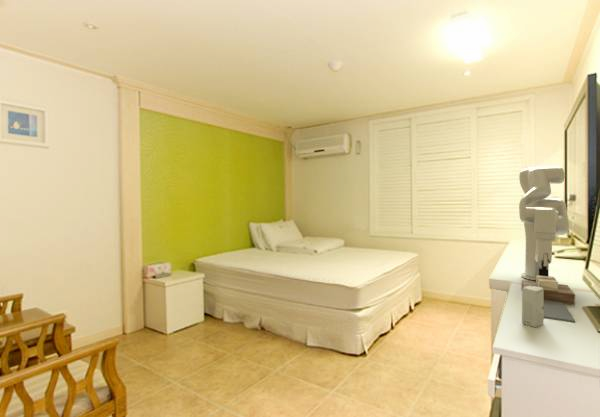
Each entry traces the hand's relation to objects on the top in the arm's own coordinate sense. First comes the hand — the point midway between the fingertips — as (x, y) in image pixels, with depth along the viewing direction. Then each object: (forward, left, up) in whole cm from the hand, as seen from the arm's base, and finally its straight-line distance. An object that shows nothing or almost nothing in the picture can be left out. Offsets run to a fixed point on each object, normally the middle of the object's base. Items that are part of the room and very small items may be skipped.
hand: (543, 277), depth 142 cm
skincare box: (+44, -8, -6) cm, 45 cm away
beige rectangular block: (+9, 0, -2) cm, 9 cm away
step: (+9, 0, -6) cm, 10 cm away
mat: (+26, -1, -6) cm, 27 cm away
